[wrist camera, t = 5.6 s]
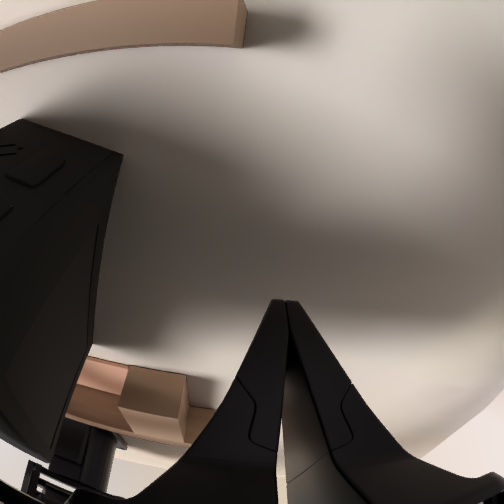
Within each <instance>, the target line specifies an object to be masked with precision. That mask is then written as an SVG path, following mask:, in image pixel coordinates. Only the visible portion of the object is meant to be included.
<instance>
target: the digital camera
mask: <svg viewBox="0 0 504 504" xmlns="http://www.w3.org/2000/svg"><path fill="white" fill-rule="evenodd" d="M111 153H112V154H111ZM110 154H111V155H110ZM106 157H107V158H106ZM105 158H106V159H105ZM122 158H123V155H122V154H120V153H117V152H115V151H112V150H109V149H106V148H104V147H101V146H98V145H95V144H93V143H90V142H87V141H84V140H81V139H79V138H76V137H73V136H70V135H67V134H64V133H62V132H59V131H56V130H53V129H50V128H47V127H44V126H41V125H38V124H35V123H32V122H29V121H26V120H23V119H19V120H17V121H15V122H13V123H11V124H9V125H7V126H5V127H3V128H1V129H0V438H1V439H3V440H4V441H6V442H7V443H9V444H11V445H13V446H14V447H16V448H18V449H20V450H22V451H23V452H25V453H27V454H29V455H31V456H33V457H35V458H37V459H39V460H41V461H43V462H45V463H51V460H52V457H53V454H54V450H55V447H56V443H57V440H58V437H59V434H60V430H61V427H62V424H63V421H64V418H65V415H66V412H67V409H68V406H69V403H70V400H71V398H72V395H73V392H74V389H75V387H76V384H77V381H78V379H79V376H80V373H81V371H82V368H83V366H84V363H85V361H86V358H87V356H88V353H89V351H90V348H91V346H92V342H93V327H94V314H95V304H96V294H97V286H98V278H99V270H100V263H101V257H102V250H103V244H104V238H105V233H106V227H107V222H108V217H109V212H110V207H111V203H112V198H113V194H114V189H115V185H116V181H117V177H118V173H119V169H120V165H121V161H122ZM100 162H101V163H100ZM99 163H100V164H99ZM94 167H95V168H94ZM93 168H94V169H93ZM88 172H89V173H88ZM87 173H88V174H87ZM86 174H87V175H86ZM80 179H81V180H80ZM79 180H80V181H79ZM78 181H79V182H78Z"/></svg>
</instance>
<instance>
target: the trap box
mask: <svg viewBox="0 0 504 504" xmlns="http://www.w3.org/2000/svg"><path fill="white" fill-rule="evenodd" d="M247 12H248V11H247V8H246V6H245V3H244V0H97V1H92V2H88V3H83V4H79V5H75V6H71V7H67V8H63V9H60V10H56V11H53V12H50V13H46V14H43V15H40V16H37V17H34V18H31V19H28V20H26V21H23V22H20V23H18V24H15V25H12V26H10V27H7V28H5V29H3V30H0V73H2V72H5V71H8V70H12V69H15V68H19V67H22V66H26V65H30V64H34V63H38V62H42V61H46V60H51V59H55V58H60V57H65V56H71V55H76V54H83V53H89V52H96V51H104V50H112V49H122V48H134V47H150V46H216V47H232V48H243V42H244V34H245V27H246V19H247ZM213 415H214V410H213V409H205V408H197V407H190V405H189V397H188V390H187V381H186V375H181V374H175V373H168V372H163V371H157V370H151V369H146V368H141V367H136V366H131V365H130V366H127V365H122V364H117V363H113V362H109V361H104V360H100V359H96V358H92V357H88V356H87V358H86V361H85V363H84V366H83V368H82V371H81V373H80V376H79V379H78V381H77V384H76V387H75V389H74V392H73V395H72V398H71V400H70V403H69V406H68V409H67V412H66V415H65V417H67V418H70V419H73V420H76V421H79V422H82V423H85V424H88V425H91V426H95V427H98V428H101V429H105V430H108V431H112V432H116V433H120V434H123V435H127V436H132V437H136V438H140V439H145V440H149V441H154V442H159V443H164V444H170V445H175V446H181V447H188V448H190V446H191V445H192V444H193V442H194V441H195V440H196V438H197V437H198V436H199V434H200V433H201V432H202V430H203V429H204V428H205V426H206V425H207V423H208V422H209V421H210V419H211V418H212V417H213Z"/></svg>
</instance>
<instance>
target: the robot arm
mask: <svg viewBox="0 0 504 504" xmlns="http://www.w3.org/2000/svg"><path fill="white" fill-rule="evenodd" d="M351 383H352V382H351V380H350V379H349V377H348V376H347V374H346V372H345V371H344V369H343V368H342V366H341V365H340V363H339V362H338V360H337V359H336V357H335V356H334V354H333V353H332V351H331V350H330V348H329V347H328V345H327V344H326V342H325V340H324V339H323V337H322V336H321V334H320V333H319V331H318V330H317V328H316V327H315V325H314V324H313V322H312V321H311V319H310V318H309V316H308V315H307V313H306V312H305V310H304V309H303V307H302V306H301V304H300V303H299V302H298V301H292V300H286V301H284V300H282V299H272V300H271V302H270V304H269V306H268V308H267V311H266V313H265V315H264V317H263V319H262V321H261V324H260V326H259V328H258V330H257V332H256V334H255V336H254V339H253V341H252V343H251V345H250V347H249V349H248V351H247V353H246V356H245V358H244V360H243V362H242V364H241V366H240V368H239V370H238V372H237V374H236V376H235V379H234V380H233V382H232V384H231V386H230V388H229V390H228V392H227V394H226V396H225V398H224V400H223V401H222V403H221V405H220V406H219V408H218V409H217V411H216V412H215V414H214V415H213V417H212V418H211V419H210V421H209V422H208V423H207V425H206V426H205V428H204V429H203V430H202V432H201V433H200V434H199V436H198V437H197V438H196V440H195V441H194V442H193V444H192V445H191V446H190V448H189V449H188V450H187V451H186V452H185V454H184V455H183V456H182V457H181V458H180V459H179V460H178V461H177V462H176V463H175V464H174V465H173V466H172V467H170V468H169V469H168V470H167V471H166V472H165V473H163V474H162V475H161V476H160V477H159V478H157V479H156V480H155V481H154V482H153V483H151V484H150V485H149V486H148V487H146V488H145V489H144V490H143V491H141V492H140V493H139V494H137V495H136V496H134V497H131V498H128V499H125V498H123V497H119V496H113V495H110V494H107V493H106V492H107V486H108V481H109V477H110V472H111V468H112V463H113V458H114V454H115V450H116V448H119V449H123V450H127V445H126V444H125V443H124V442H123V440H122V439H121V438H120V437H119V435H118V434H117V433H116V432H112V431H108V430H105V429H101V428H98V427H95V426H91V425H88V424H85V423H82V422H79V421H76V420H73V419H70V418H67V417H65V418H64V421H63V424H62V427H61V430H60V434H59V437H58V440H57V443H56V447H55V450H54V454H53V457H52V460H51V463H50V464H49V468H48V469H46V468H44V467H42V465H40V464H38V463H35V462H33V461H30V460H29V461H28V465H27V468H26V472H25V476H24V480H23V484H22V488H21V491H20V490H18V489H16V488H14V487H13V486H11V485H9V484H7V483H6V482H4V481H3V480H1V479H0V504H278V491H277V477H276V464H277V452H278V446H279V437H280V428H281V418H282V428H283V441H284V455H285V469H286V483H287V499H288V504H504V478H503V477H501V476H500V475H498V474H496V473H495V472H490V473H488V474H485V475H483V476H481V477H478V478H466V477H462V476H459V475H456V474H454V473H451V472H449V471H446V470H444V469H441V468H439V467H436V466H434V465H431V464H429V463H426V462H424V461H422V460H420V459H418V458H416V457H414V456H412V455H411V454H409V453H408V452H407V451H406V450H405V449H403V448H402V446H401V445H400V444H399V443H398V442H397V441H396V440H395V438H394V437H393V436H392V435H391V434H390V432H389V431H388V430H387V429H386V428H385V426H384V425H383V424H382V423H381V422H380V420H379V419H378V418H377V417H376V415H375V414H374V413H373V412H372V410H371V409H370V408H369V407H368V405H367V404H366V402H365V401H364V399H363V398H362V397H361V395H360V394H359V392H358V391H357V389H356V388H355V386H354V385H353V384H351ZM40 473H41V474H43V475H45V476H47V477H49V478H51V479H54V480H56V481H58V482H60V483H63V484H65V485H67V486H70V487H72V488H75V489H76V490H75V491H74V492H71V491H68V490H66V489H64V488H61V487H59V486H57V485H54V484H52V483H50V482H48V481H46V480H43V479H41V478H39V476H40ZM37 486H39V487H41V488H43V490H42V493H41V492H39V491H37V490H36V489H37Z"/></svg>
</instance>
